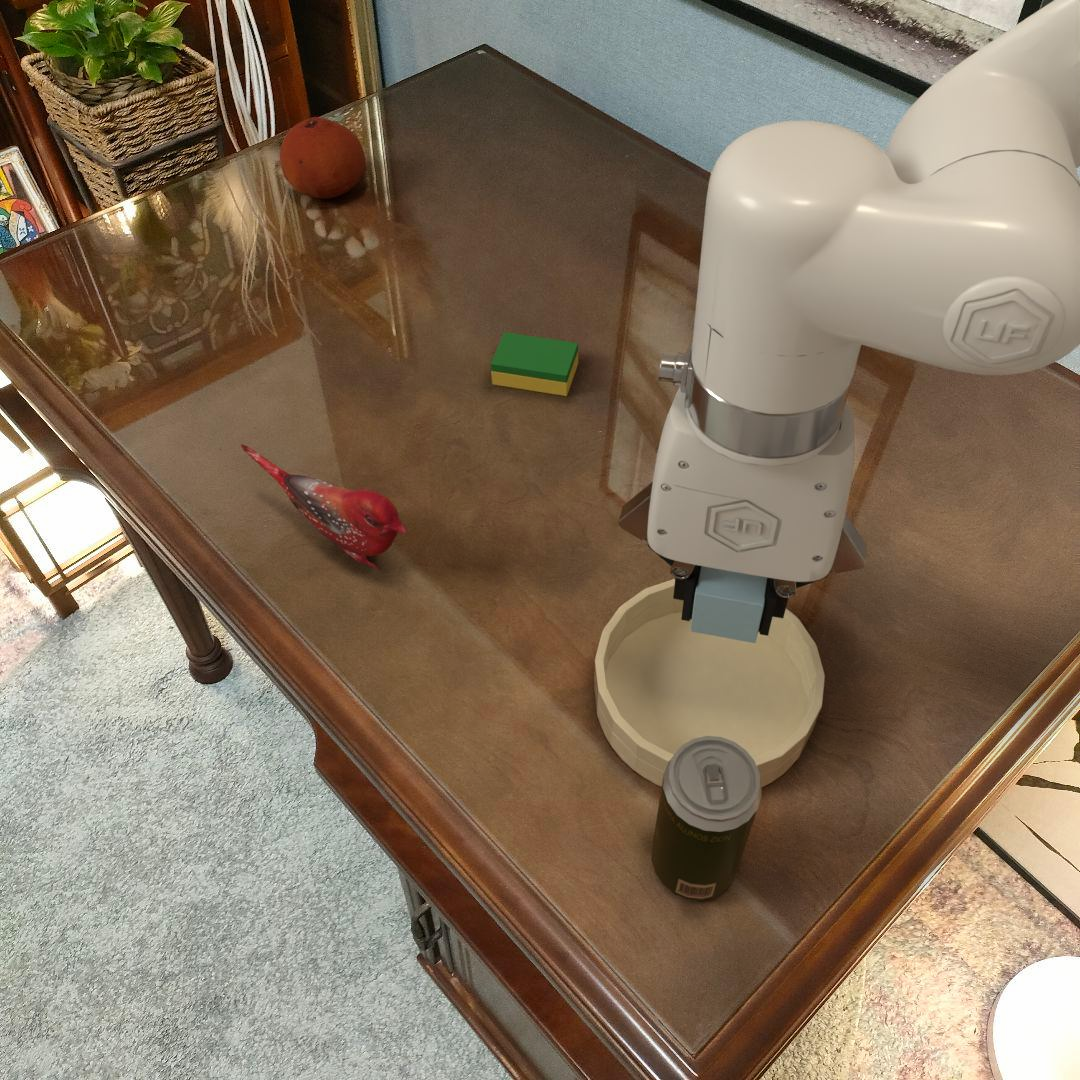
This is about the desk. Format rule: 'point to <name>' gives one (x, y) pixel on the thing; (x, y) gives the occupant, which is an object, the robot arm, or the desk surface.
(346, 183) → the fruit
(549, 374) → the scrubber
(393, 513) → the decorative bird figurine
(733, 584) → the ice cube
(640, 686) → the bowl
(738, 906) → the desk surface
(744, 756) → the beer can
